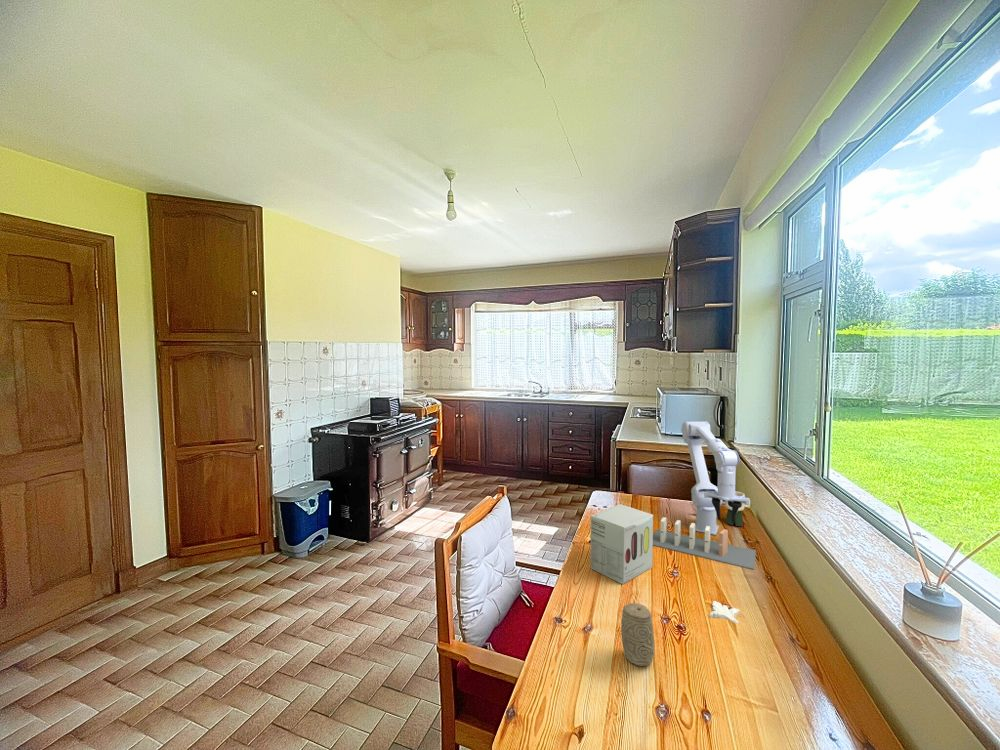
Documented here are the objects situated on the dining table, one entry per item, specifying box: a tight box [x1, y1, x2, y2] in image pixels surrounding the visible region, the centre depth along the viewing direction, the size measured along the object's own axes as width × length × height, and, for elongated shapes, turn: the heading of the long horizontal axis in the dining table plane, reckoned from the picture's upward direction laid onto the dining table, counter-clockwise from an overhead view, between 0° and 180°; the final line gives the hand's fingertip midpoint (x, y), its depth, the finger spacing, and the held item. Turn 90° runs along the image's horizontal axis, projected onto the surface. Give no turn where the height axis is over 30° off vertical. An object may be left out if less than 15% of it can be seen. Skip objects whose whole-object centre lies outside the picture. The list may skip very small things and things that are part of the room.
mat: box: [653, 528, 757, 571], centre depth 151 cm, size 15×34×1 cm, turn 56°
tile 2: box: [674, 519, 682, 546], centre depth 154 cm, size 5×1×8 cm, turn 146°
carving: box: [620, 602, 655, 667], centre depth 96 cm, size 6×8×12 cm
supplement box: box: [590, 503, 654, 585], centre depth 137 cm, size 17×13×18 cm
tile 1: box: [659, 516, 668, 543], centre depth 156 cm, size 5×1×8 cm, turn 146°
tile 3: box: [688, 522, 696, 549], centre depth 151 cm, size 5×1×8 cm, turn 146°
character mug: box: [721, 490, 751, 527], centre depth 171 cm, size 11×7×13 cm, turn 60°
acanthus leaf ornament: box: [709, 600, 741, 624], centre depth 112 cm, size 8×7×2 cm
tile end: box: [718, 528, 729, 556], centre depth 145 cm, size 5×1×8 cm, turn 131°
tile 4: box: [704, 526, 711, 553], centre depth 148 cm, size 5×1×8 cm, turn 146°
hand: (725, 519), depth 152 cm, fingers open, 4 cm apart
